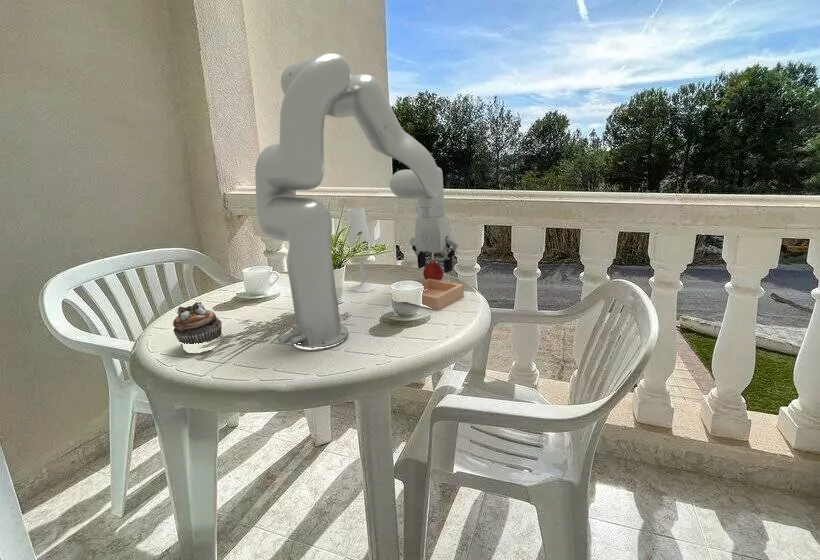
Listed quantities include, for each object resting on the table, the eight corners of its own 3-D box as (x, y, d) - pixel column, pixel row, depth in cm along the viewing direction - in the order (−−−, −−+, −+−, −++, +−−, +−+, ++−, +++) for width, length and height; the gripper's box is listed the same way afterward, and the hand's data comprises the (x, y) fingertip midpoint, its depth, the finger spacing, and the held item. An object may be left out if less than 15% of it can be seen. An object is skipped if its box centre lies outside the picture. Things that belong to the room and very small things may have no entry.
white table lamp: (364, 283, 132) (356, 206, 125) (379, 286, 128) (372, 207, 121) (348, 289, 127) (339, 210, 120) (363, 293, 123) (355, 211, 116)
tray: (437, 310, 107) (437, 298, 106) (402, 302, 114) (401, 290, 113) (463, 296, 115) (463, 284, 114) (429, 289, 123) (428, 278, 122)
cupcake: (190, 360, 89) (179, 316, 86) (172, 348, 96) (161, 307, 93) (233, 343, 96) (224, 302, 93) (213, 333, 102) (205, 294, 99)
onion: (422, 288, 124) (420, 262, 122) (426, 282, 129) (425, 256, 127) (441, 288, 122) (440, 262, 120) (445, 282, 128) (444, 257, 125)
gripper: (399, 212, 122) (404, 268, 128) (448, 216, 112) (451, 277, 117) (416, 208, 128) (420, 262, 133) (464, 211, 117) (466, 269, 122)
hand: (435, 269), depth 125 cm, fingers open, 9 cm apart
